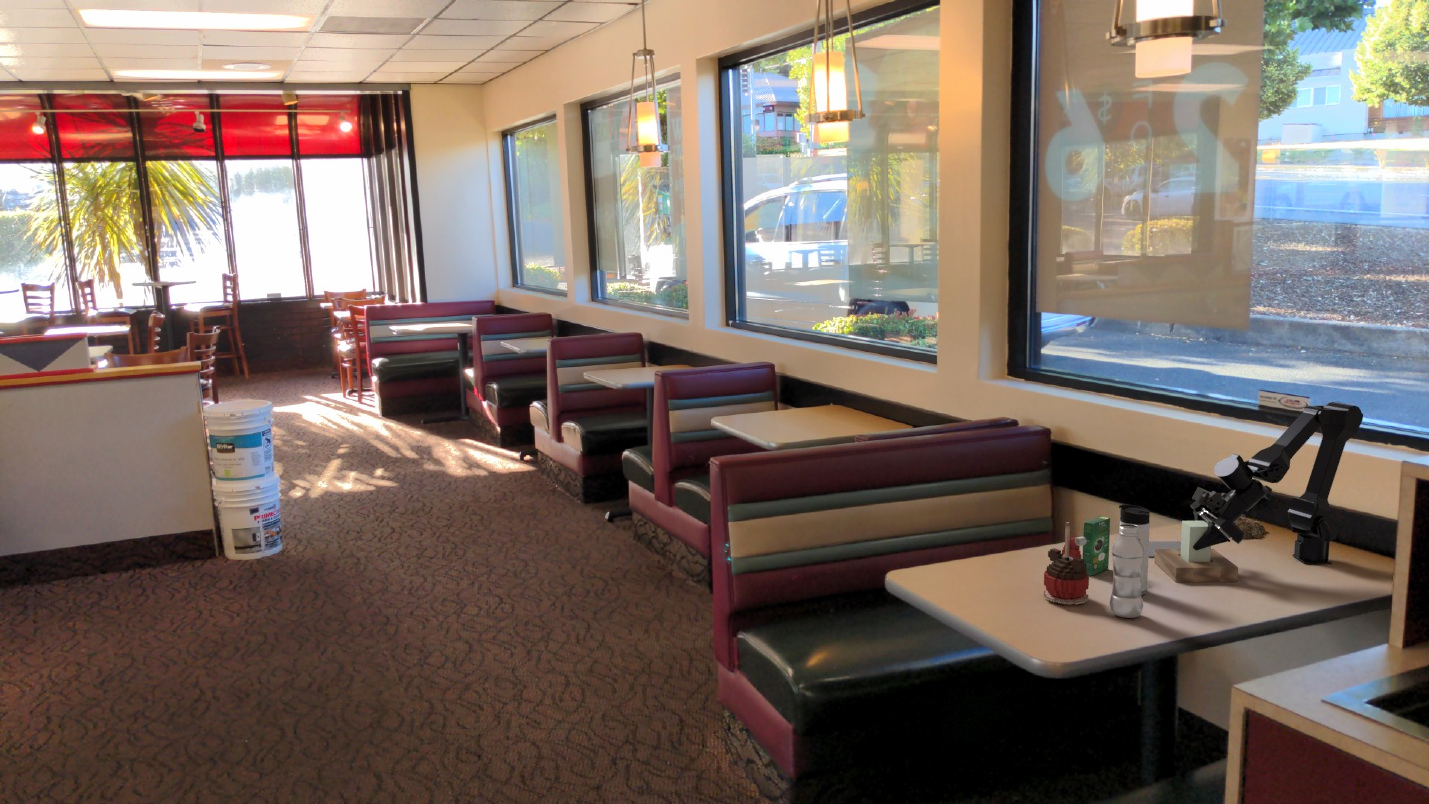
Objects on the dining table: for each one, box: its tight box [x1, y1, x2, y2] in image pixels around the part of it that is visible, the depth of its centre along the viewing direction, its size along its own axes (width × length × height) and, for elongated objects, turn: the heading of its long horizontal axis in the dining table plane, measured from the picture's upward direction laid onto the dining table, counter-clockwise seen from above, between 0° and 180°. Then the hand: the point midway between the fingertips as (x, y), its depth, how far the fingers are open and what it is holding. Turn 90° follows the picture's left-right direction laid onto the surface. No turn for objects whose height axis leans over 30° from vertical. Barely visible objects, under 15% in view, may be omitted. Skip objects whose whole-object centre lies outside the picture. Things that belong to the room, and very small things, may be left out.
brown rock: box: [1234, 516, 1266, 540], centre depth 276 cm, size 13×12×5 cm
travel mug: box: [1118, 503, 1151, 596], centre depth 234 cm, size 6×7×20 cm
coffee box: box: [1081, 515, 1111, 577], centre depth 249 cm, size 8×3×13 cm, turn 129°
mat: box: [1148, 540, 1181, 559], centre depth 264 cm, size 12×12×1 cm
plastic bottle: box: [1109, 524, 1144, 619], centre depth 220 cm, size 6×7×20 cm
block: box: [1180, 520, 1212, 562], centre depth 246 cm, size 5×5×12 cm
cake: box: [1043, 521, 1090, 605], centre depth 230 cm, size 11×9×18 cm
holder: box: [1154, 548, 1239, 583], centre depth 247 cm, size 14×14×4 cm
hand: (1189, 545), depth 246 cm, fingers closed on block, 5 cm apart
